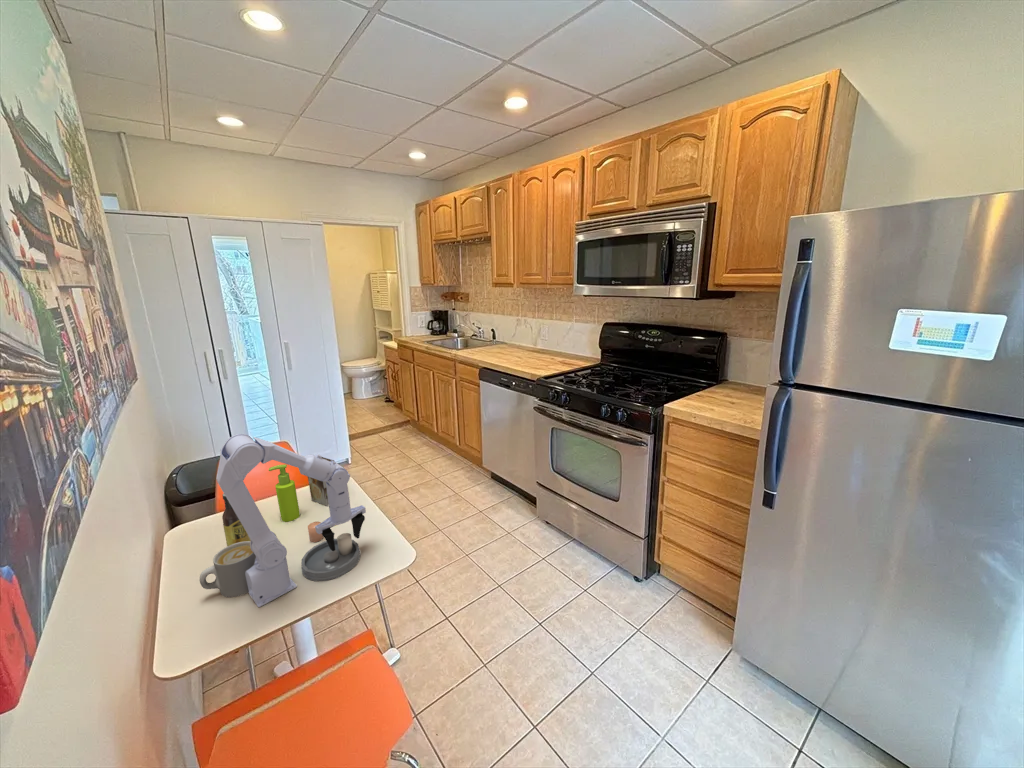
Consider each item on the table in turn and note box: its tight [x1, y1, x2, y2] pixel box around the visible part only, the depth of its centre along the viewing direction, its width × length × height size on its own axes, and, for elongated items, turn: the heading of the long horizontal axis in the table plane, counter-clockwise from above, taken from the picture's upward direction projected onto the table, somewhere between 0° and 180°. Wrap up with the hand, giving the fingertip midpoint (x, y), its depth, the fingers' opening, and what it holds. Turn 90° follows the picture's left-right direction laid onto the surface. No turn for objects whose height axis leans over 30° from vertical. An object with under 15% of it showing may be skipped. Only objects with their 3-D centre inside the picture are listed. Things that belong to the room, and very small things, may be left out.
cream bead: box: [336, 532, 353, 556], centre depth 122 cm, size 4×4×5 cm
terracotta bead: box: [307, 521, 324, 543], centre depth 130 cm, size 4×4×5 cm
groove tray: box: [301, 537, 362, 582], centre depth 119 cm, size 16×16×2 cm
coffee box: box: [307, 456, 336, 507], centre depth 152 cm, size 9×6×16 cm
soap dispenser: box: [268, 463, 301, 523], centre depth 140 cm, size 6×7×20 cm
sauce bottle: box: [222, 493, 251, 547], centre depth 123 cm, size 7×6×20 cm
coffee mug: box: [199, 541, 256, 598], centre depth 109 cm, size 13×10×10 cm
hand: (344, 543), depth 122 cm, fingers open, 7 cm apart
